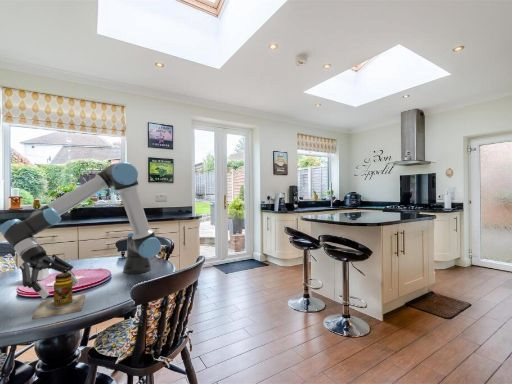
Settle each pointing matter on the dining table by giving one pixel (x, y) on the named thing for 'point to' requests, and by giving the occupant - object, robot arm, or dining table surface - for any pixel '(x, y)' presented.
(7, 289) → the dining table surface
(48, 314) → the board
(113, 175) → the robot arm
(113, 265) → the dining table surface
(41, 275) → the jar
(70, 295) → the condiment
